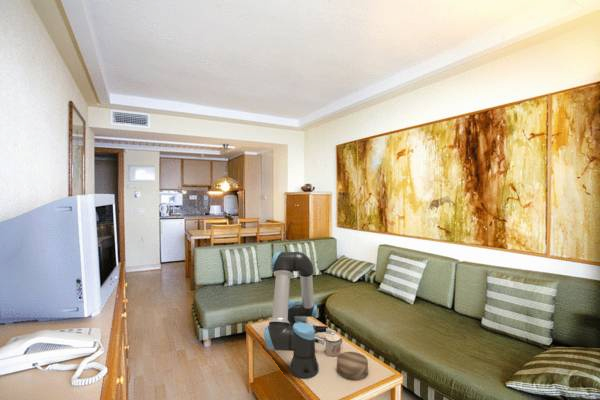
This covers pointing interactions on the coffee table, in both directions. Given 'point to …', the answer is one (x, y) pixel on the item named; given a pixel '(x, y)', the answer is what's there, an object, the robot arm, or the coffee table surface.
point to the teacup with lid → (333, 344)
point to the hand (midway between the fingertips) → (329, 337)
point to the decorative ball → (300, 318)
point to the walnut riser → (352, 366)
